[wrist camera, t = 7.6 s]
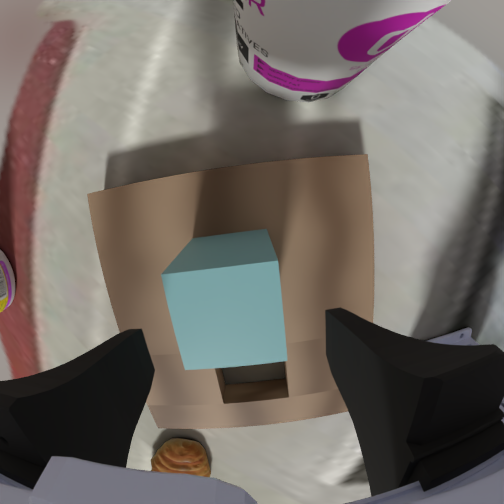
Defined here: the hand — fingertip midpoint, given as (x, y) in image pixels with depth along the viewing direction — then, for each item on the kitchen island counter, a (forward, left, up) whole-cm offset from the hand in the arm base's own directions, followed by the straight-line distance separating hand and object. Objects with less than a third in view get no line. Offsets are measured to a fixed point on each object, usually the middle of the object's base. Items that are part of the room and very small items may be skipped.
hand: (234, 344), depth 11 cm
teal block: (0, -1, -8) cm, 8 cm away
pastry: (+10, +22, -11) cm, 27 cm away
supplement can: (-6, -15, -11) cm, 19 cm away
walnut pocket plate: (0, +3, -10) cm, 11 cm away
